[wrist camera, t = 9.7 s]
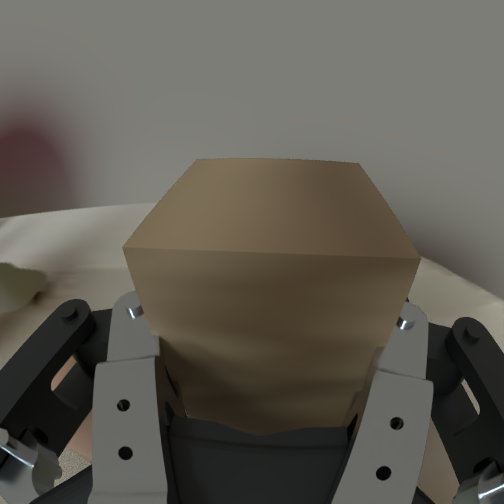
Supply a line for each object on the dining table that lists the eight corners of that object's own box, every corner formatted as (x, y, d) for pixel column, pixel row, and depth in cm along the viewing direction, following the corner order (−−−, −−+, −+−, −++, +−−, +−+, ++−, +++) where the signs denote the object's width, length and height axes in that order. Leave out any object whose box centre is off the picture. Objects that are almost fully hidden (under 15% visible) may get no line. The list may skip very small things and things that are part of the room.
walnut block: (205, 445, 10) (122, 247, 5) (223, 357, 14) (196, 159, 9) (324, 453, 10) (421, 258, 4) (321, 362, 14) (358, 163, 8)
